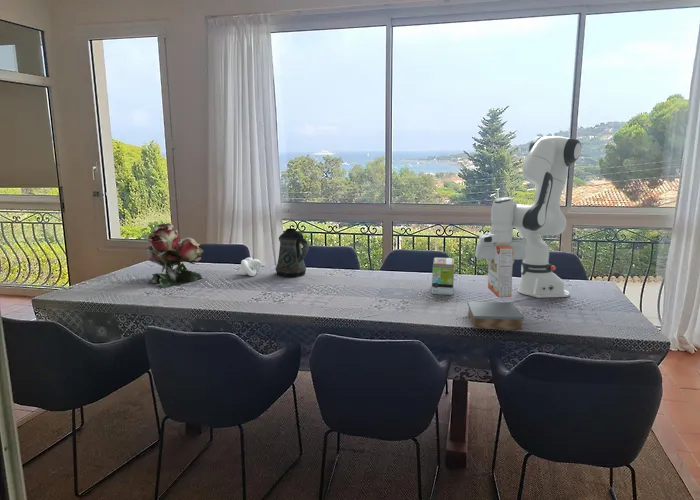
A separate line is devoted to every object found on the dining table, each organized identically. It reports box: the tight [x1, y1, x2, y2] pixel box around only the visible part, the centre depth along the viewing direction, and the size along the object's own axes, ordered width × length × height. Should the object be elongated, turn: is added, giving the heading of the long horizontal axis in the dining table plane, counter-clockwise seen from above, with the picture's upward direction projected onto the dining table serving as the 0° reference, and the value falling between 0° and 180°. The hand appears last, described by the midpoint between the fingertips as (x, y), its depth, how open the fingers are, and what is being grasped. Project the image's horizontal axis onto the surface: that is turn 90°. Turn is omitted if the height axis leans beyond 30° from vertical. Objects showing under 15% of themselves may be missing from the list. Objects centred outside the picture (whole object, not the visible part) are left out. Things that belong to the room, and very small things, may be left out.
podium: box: [467, 301, 525, 330], centre depth 191 cm, size 18×18×5 cm
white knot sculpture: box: [239, 257, 262, 277], centre depth 267 cm, size 11×12×9 cm
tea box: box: [431, 257, 455, 296], centre depth 234 cm, size 15×10×15 cm, turn 168°
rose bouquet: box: [146, 222, 204, 289], centre depth 256 cm, size 26×29×30 cm
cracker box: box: [487, 246, 514, 298], centre depth 207 cm, size 14×6×21 cm, turn 1°
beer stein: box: [275, 227, 310, 279], centre depth 266 cm, size 16×19×25 cm
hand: (499, 269), depth 207 cm, fingers closed on cracker box, 6 cm apart
